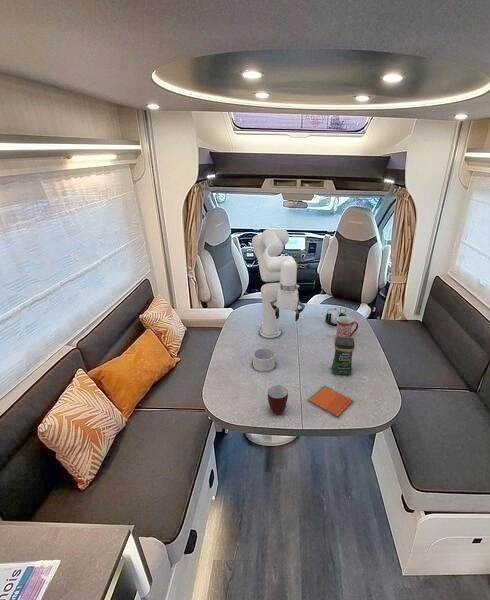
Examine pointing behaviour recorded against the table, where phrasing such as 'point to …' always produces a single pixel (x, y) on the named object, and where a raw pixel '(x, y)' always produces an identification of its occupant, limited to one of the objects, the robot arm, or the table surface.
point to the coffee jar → (343, 355)
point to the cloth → (331, 401)
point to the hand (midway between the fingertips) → (287, 318)
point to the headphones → (328, 318)
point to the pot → (264, 359)
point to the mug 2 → (345, 326)
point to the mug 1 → (277, 398)
